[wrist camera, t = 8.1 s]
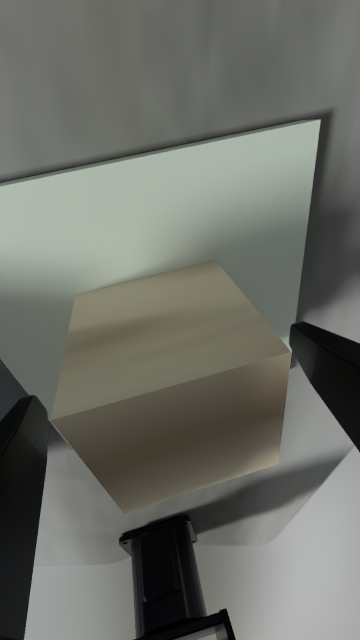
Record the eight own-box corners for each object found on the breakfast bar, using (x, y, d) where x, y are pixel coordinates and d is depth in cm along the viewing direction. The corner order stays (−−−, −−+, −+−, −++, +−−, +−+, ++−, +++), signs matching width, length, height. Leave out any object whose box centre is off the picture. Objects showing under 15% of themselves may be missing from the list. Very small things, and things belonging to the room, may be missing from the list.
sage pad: (278, 373, 16) (287, 386, 15) (73, 431, 15) (71, 449, 14) (301, 120, 9) (320, 119, 8) (-93, 202, 8) (-117, 210, 7)
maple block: (224, 358, 13) (278, 464, 9) (118, 387, 12) (124, 513, 8) (215, 259, 10) (291, 351, 6) (75, 294, 9) (50, 420, 5)
